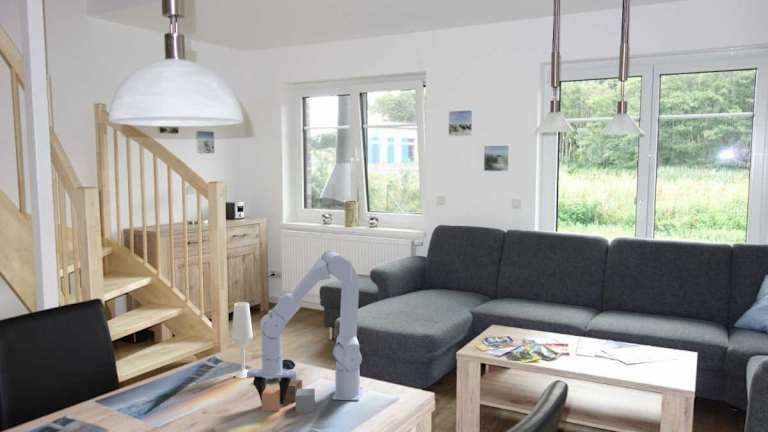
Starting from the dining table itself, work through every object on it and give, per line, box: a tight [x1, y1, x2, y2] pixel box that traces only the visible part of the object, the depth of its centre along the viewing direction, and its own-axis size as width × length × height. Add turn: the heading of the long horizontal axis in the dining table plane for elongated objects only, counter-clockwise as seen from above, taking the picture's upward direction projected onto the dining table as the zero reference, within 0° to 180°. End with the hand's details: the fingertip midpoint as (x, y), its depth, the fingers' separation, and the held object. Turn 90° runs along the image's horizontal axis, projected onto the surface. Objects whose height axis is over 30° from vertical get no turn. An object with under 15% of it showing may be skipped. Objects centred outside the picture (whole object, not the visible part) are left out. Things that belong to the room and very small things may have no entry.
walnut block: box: [285, 378, 303, 403], centre depth 178 cm, size 5×5×5 cm
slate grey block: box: [295, 388, 316, 413], centre depth 170 cm, size 5×5×5 cm
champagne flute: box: [231, 301, 254, 379], centre depth 195 cm, size 7×7×24 cm
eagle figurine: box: [266, 359, 296, 383], centre depth 192 cm, size 8×7×9 cm
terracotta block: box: [261, 386, 285, 412], centre depth 171 cm, size 5×5×5 cm
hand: (273, 402), depth 171 cm, fingers closed on terracotta block, 5 cm apart
